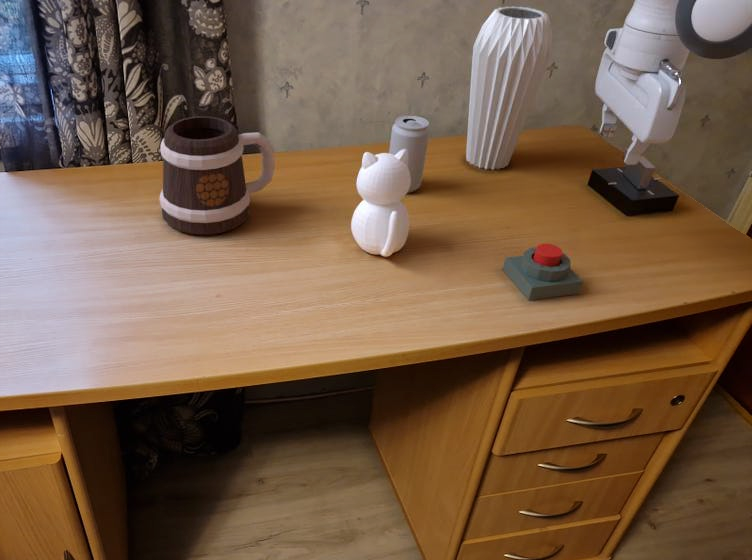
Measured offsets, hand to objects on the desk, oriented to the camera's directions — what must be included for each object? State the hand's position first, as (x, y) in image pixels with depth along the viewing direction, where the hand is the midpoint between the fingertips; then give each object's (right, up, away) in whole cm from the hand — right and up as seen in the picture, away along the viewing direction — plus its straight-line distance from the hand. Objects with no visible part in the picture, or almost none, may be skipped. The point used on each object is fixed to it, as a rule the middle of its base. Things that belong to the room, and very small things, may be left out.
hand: (617, 148), depth 100 cm
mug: (-60, -6, +16) cm, 62 cm away
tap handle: (+13, 0, +19) cm, 23 cm away
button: (-11, -17, -2) cm, 20 cm away
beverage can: (-27, 0, +23) cm, 36 cm away
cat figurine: (-34, -13, +8) cm, 37 cm away
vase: (-9, +7, +32) cm, 34 cm away
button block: (-11, -20, 0) cm, 23 cm away
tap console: (+13, -2, +21) cm, 24 cm away
